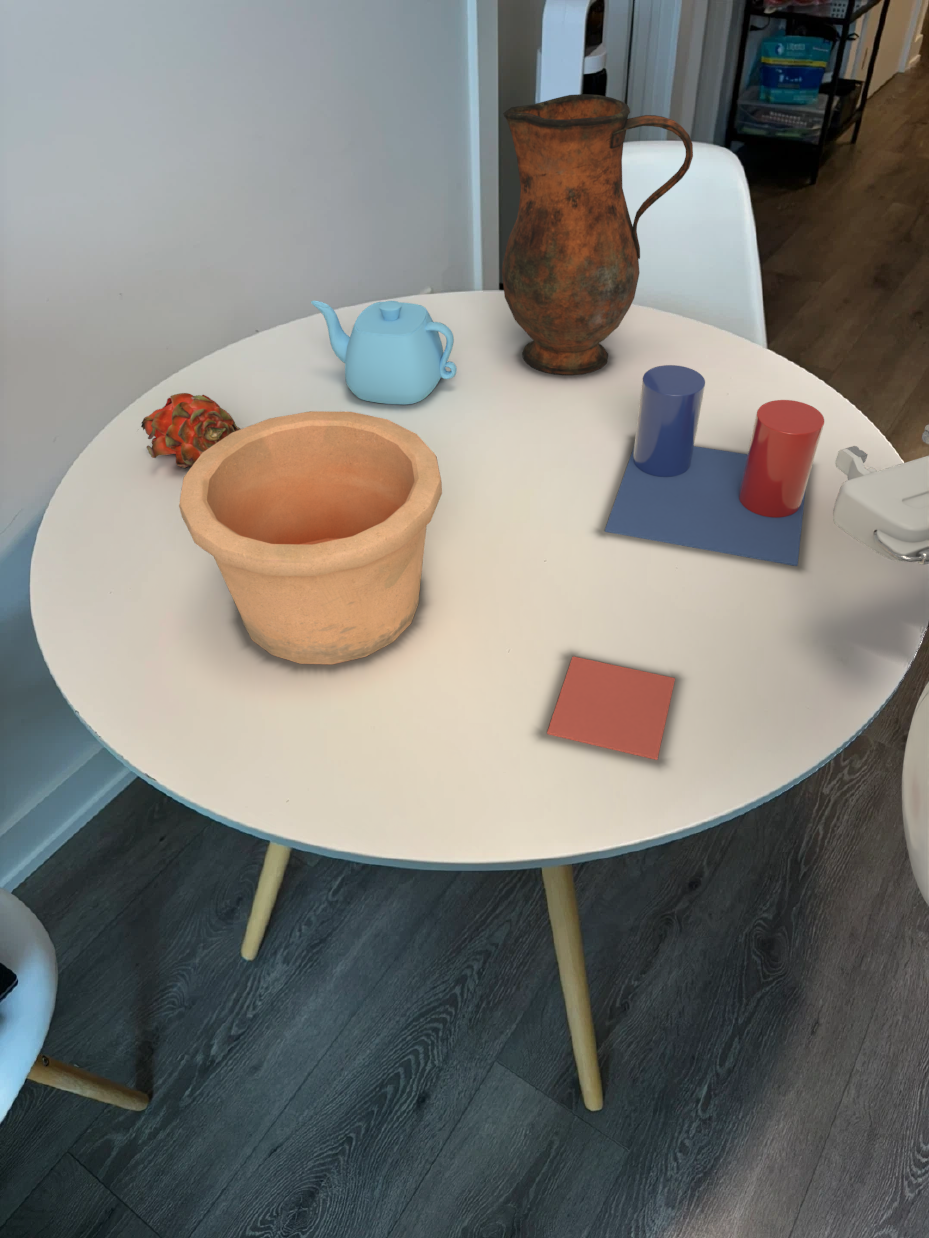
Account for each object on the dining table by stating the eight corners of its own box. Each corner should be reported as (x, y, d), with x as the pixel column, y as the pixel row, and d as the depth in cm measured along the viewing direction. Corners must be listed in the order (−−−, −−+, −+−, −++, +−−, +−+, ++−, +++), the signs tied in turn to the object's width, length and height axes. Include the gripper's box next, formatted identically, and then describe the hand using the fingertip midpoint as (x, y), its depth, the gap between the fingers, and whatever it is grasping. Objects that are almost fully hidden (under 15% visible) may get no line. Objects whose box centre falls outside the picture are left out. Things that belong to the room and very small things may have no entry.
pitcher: (512, 324, 129) (516, 82, 108) (667, 337, 125) (702, 89, 104) (488, 383, 117) (488, 124, 96) (658, 399, 113) (696, 134, 93)
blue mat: (807, 466, 102) (808, 463, 102) (796, 567, 90) (797, 564, 90) (636, 440, 107) (637, 437, 106) (604, 532, 94) (604, 529, 94)
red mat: (674, 681, 79) (675, 677, 79) (657, 761, 73) (657, 757, 73) (572, 659, 82) (572, 655, 81) (546, 734, 75) (547, 731, 75)
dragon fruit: (247, 484, 105) (162, 478, 109) (264, 414, 106) (180, 411, 110) (203, 455, 97) (113, 450, 101) (222, 381, 98) (132, 378, 103)
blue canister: (694, 450, 104) (709, 369, 97) (686, 481, 100) (700, 399, 93) (638, 441, 106) (648, 361, 99) (627, 472, 101) (637, 390, 95)
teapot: (327, 276, 116) (466, 287, 113) (337, 354, 123) (468, 367, 120) (291, 320, 107) (441, 334, 104) (304, 402, 114) (444, 417, 111)
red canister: (802, 487, 99) (826, 404, 92) (799, 522, 94) (823, 438, 87) (741, 477, 100) (760, 395, 93) (735, 511, 96) (753, 428, 89)
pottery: (175, 591, 89) (135, 467, 79) (366, 506, 99) (352, 385, 89) (285, 728, 76) (255, 599, 67) (493, 614, 86) (493, 487, 76)
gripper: (896, 601, 69) (780, 501, 79) (1093, 530, 75) (963, 445, 84) (923, 534, 65) (797, 438, 74) (1130, 465, 71) (989, 383, 80)
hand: (887, 441), depth 79 cm, fingers open, 8 cm apart
